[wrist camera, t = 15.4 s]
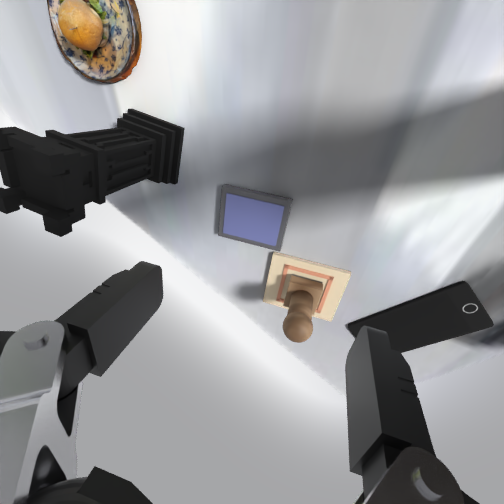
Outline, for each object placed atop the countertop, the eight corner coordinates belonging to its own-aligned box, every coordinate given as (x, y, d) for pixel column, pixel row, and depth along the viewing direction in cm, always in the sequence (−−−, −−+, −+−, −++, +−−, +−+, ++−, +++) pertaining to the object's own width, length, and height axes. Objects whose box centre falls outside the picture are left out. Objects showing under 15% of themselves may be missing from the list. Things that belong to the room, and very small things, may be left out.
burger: (92, -74, 28) (23, -124, 22) (161, 40, 32) (119, 25, 25) (43, 14, 34) (-24, -6, 27) (106, 103, 37) (60, 103, 31)
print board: (350, 271, 40) (351, 275, 39) (331, 318, 45) (331, 322, 44) (273, 251, 41) (272, 254, 41) (263, 298, 47) (262, 302, 46)
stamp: (323, 281, 41) (320, 330, 32) (314, 305, 43) (310, 356, 35) (291, 273, 42) (280, 318, 33) (285, 296, 44) (273, 344, 35)
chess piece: (132, 108, 36) (-40, 115, 20) (184, 128, 36) (53, 152, 19) (130, 164, 41) (-12, 209, 24) (177, 183, 40) (65, 242, 23)
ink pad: (292, 199, 37) (291, 202, 35) (281, 247, 41) (279, 252, 40) (225, 183, 38) (221, 186, 37) (220, 232, 42) (217, 236, 41)
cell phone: (492, 321, 38) (495, 326, 37) (374, 356, 47) (374, 360, 46) (464, 277, 36) (467, 281, 35) (346, 323, 45) (346, 327, 44)
